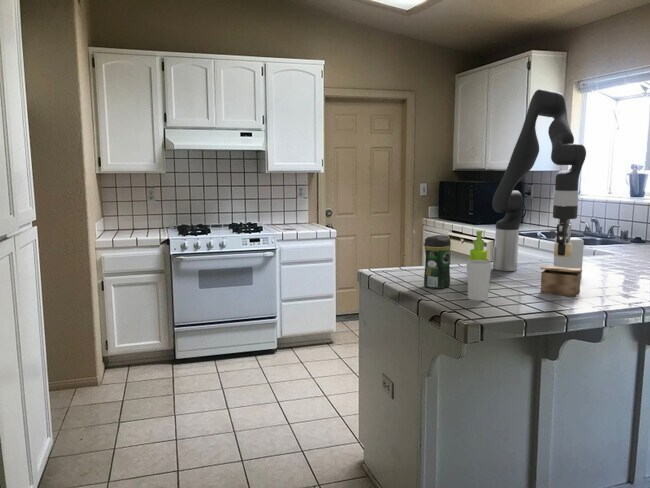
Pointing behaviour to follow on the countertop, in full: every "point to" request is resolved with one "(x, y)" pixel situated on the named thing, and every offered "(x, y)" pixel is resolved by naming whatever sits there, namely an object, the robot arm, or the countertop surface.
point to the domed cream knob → (567, 250)
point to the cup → (478, 279)
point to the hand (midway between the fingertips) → (562, 254)
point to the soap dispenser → (478, 248)
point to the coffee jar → (437, 261)
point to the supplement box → (576, 257)
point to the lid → (561, 269)
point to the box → (560, 282)
